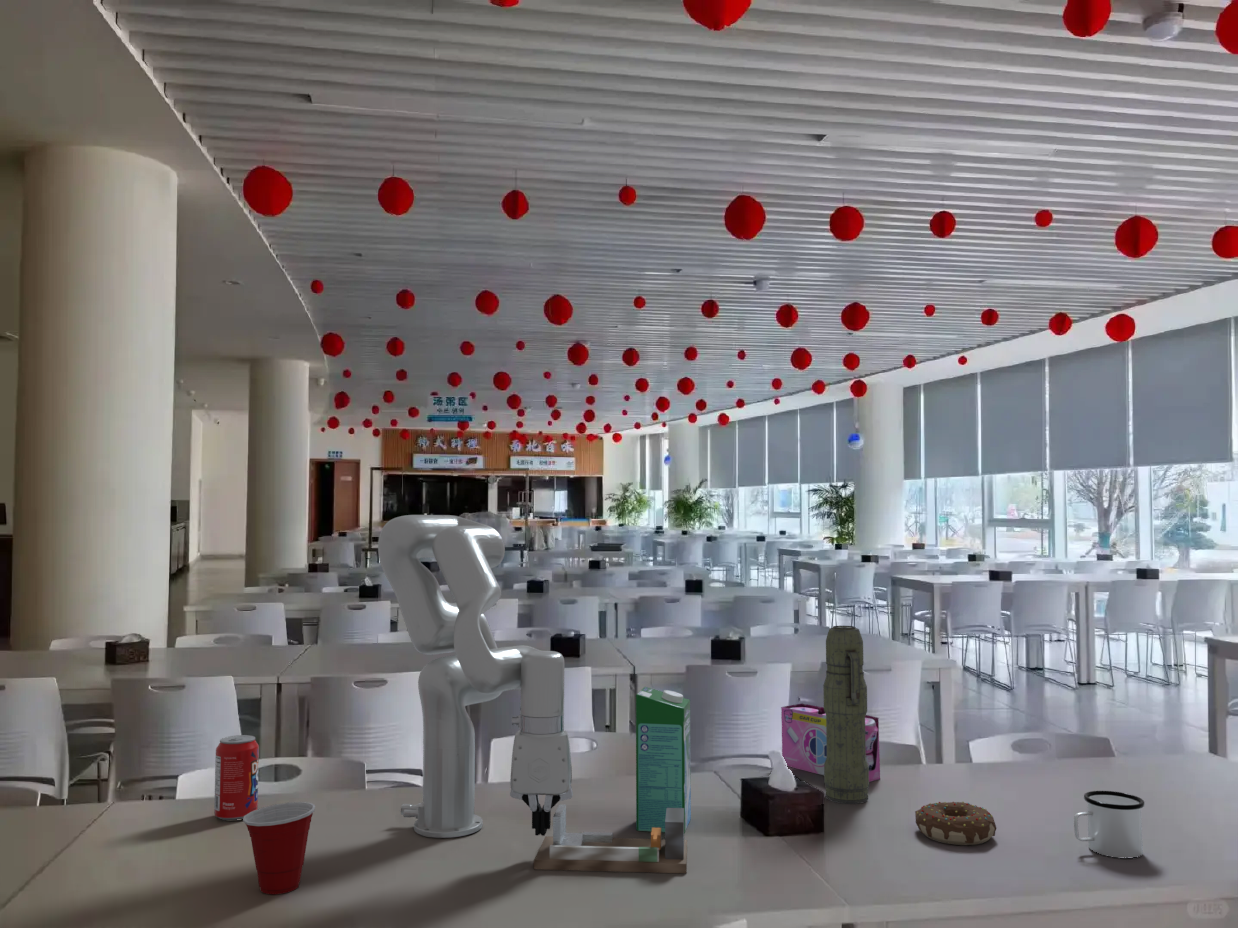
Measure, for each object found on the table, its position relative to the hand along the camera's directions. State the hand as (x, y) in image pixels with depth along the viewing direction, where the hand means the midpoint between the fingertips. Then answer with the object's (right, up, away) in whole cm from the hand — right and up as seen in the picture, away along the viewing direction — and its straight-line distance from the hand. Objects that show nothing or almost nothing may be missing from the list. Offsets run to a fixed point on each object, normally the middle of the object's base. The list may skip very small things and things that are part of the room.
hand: (541, 832), depth 166 cm
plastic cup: (-40, -3, -14) cm, 43 cm away
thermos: (+60, -6, +35) cm, 70 cm away
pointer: (+19, -1, -3) cm, 20 cm away
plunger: (+7, -2, -1) cm, 8 cm away
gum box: (+61, -7, +55) cm, 83 cm away
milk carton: (+22, -5, +17) cm, 28 cm away
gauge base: (+12, -4, -1) cm, 13 cm away
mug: (+98, -4, +2) cm, 98 cm away
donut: (+74, -5, +11) cm, 75 cm away
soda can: (-61, -6, +23) cm, 65 cm away
